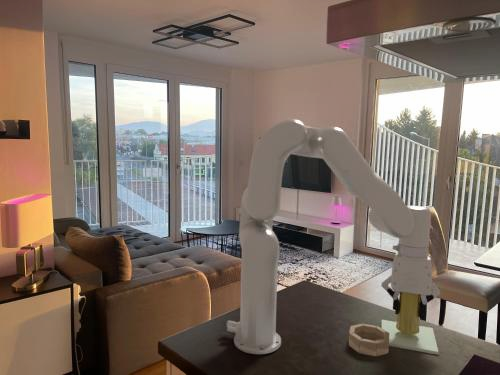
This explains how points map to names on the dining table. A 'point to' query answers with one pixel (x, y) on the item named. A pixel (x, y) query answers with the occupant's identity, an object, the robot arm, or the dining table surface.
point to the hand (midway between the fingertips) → (408, 313)
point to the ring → (367, 345)
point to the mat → (411, 338)
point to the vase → (408, 313)
